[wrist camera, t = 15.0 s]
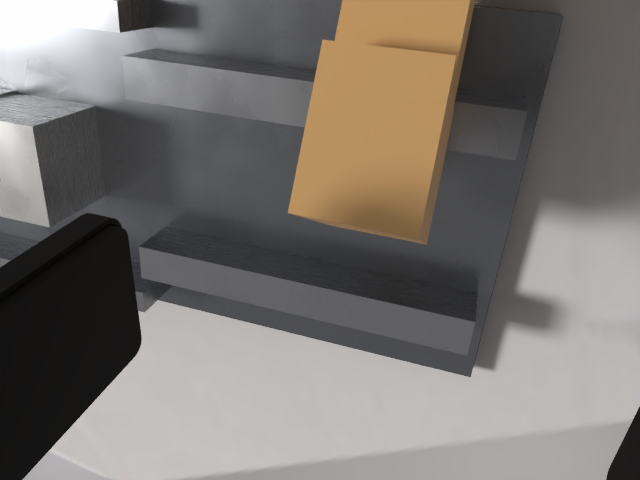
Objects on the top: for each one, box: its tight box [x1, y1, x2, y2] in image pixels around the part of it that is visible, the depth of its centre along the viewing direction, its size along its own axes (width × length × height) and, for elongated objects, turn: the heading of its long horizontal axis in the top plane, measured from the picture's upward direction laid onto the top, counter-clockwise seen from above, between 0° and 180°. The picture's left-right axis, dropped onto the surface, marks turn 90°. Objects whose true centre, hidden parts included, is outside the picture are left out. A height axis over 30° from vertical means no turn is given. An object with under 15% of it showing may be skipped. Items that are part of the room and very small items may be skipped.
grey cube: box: [0, 93, 106, 227], centre depth 22 cm, size 4×4×4 cm
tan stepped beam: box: [288, 0, 475, 245], centre depth 15 cm, size 5×3×12 cm
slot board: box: [0, 0, 563, 377], centre depth 22 cm, size 14×27×3 cm, turn 86°
